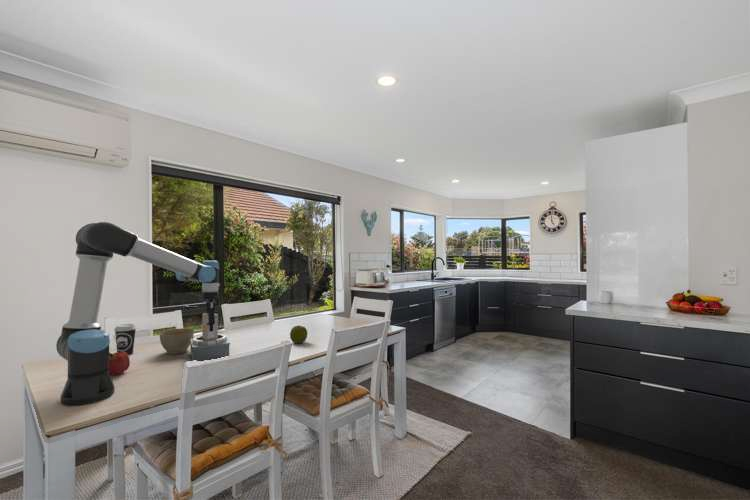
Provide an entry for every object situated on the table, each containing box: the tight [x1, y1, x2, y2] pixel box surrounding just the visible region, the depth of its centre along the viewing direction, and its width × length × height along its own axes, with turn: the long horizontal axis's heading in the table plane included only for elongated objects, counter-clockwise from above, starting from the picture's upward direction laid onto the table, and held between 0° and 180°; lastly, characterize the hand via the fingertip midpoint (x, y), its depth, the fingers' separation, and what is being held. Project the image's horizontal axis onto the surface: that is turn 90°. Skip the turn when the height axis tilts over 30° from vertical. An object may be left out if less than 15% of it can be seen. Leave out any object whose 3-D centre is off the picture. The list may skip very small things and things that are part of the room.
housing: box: [189, 333, 231, 361], centre depth 176 cm, size 21×17×10 cm
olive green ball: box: [289, 325, 308, 344], centre depth 204 cm, size 10×10×11 cm
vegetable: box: [109, 351, 131, 376], centre depth 150 cm, size 11×10×10 cm
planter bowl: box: [158, 327, 195, 355], centre depth 184 cm, size 16×16×11 cm
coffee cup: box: [113, 323, 137, 356], centre depth 179 cm, size 10×10×15 cm
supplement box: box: [201, 312, 219, 340], centre depth 175 cm, size 8×5×13 cm, turn 47°
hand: (209, 335), depth 175 cm, fingers closed on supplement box, 9 cm apart
